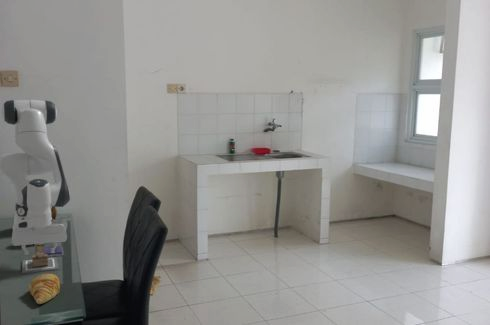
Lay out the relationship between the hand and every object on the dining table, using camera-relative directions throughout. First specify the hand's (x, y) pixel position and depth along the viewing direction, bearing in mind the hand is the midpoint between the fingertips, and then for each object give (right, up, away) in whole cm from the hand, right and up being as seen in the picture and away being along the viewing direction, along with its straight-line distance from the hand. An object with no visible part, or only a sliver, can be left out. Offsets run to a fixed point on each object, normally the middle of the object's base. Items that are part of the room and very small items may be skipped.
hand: (39, 253), depth 187 cm
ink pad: (-1, -3, +15) cm, 16 cm away
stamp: (0, -4, +1) cm, 4 cm away
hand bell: (-8, 0, +34) cm, 35 cm away
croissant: (+12, -10, -23) cm, 28 cm away
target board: (0, -5, +1) cm, 5 cm away
